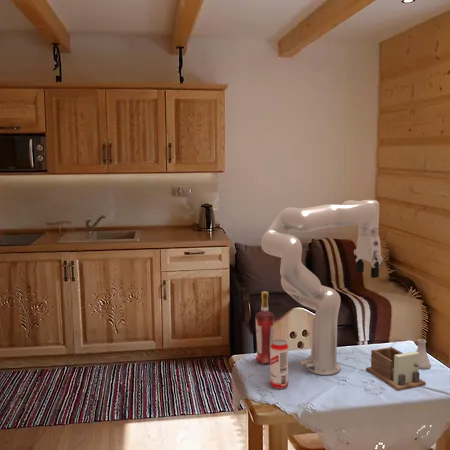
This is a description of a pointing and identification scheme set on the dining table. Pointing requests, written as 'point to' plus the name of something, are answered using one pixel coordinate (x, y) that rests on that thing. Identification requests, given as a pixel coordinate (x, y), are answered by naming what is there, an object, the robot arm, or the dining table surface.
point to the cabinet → (390, 369)
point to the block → (406, 366)
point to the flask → (423, 355)
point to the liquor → (264, 331)
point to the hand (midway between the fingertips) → (367, 274)
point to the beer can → (279, 364)
